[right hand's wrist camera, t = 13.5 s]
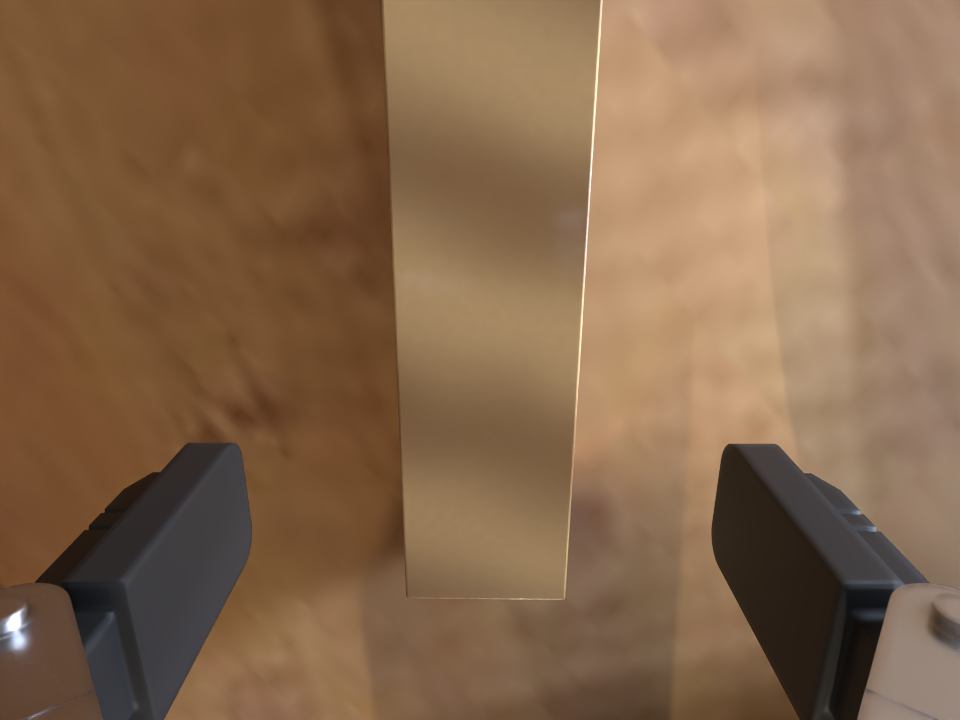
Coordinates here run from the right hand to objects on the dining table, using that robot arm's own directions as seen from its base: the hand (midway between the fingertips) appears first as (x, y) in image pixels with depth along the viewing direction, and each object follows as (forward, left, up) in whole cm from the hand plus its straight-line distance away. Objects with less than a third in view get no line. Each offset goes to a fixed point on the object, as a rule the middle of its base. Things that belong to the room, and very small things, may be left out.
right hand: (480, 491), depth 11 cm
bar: (+23, -17, -13) cm, 31 cm away
